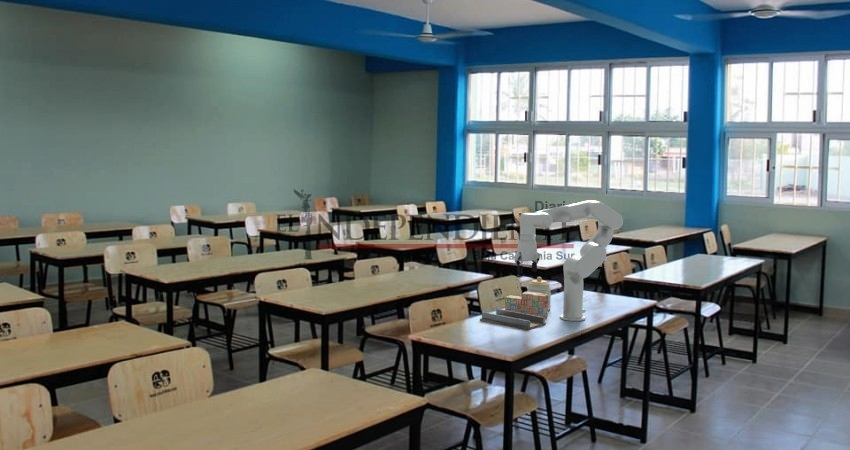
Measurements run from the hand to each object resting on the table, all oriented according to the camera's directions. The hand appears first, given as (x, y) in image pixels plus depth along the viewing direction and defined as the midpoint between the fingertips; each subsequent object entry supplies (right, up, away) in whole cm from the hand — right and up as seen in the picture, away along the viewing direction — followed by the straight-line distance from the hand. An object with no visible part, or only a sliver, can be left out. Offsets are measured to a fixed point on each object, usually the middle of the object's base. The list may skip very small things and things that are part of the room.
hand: (527, 272), depth 375 cm
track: (-8, -25, -4) cm, 26 cm away
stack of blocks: (+1, -24, +13) cm, 27 cm away
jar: (+10, -22, +30) cm, 38 cm away
